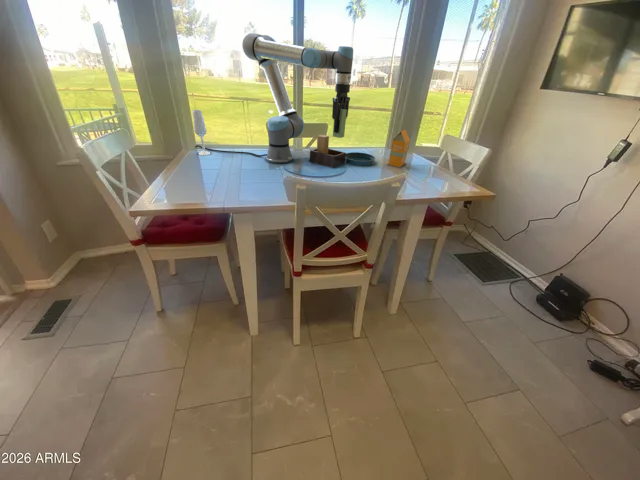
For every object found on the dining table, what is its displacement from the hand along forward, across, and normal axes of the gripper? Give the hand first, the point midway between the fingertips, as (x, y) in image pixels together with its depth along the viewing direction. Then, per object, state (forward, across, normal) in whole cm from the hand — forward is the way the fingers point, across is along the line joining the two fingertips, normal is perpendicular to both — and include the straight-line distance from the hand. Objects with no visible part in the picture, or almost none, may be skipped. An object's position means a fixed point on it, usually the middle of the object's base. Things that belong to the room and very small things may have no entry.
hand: (338, 131), depth 151 cm
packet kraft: (+18, -2, +9) cm, 20 cm away
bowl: (+18, +13, -8) cm, 24 cm away
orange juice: (+18, +26, -27) cm, 42 cm away
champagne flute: (+19, -42, +68) cm, 83 cm away
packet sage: (+3, 0, 0) cm, 3 cm away
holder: (+18, -2, +5) cm, 19 cm away
